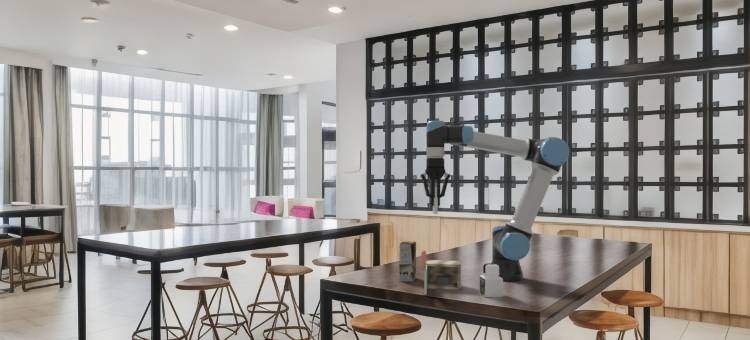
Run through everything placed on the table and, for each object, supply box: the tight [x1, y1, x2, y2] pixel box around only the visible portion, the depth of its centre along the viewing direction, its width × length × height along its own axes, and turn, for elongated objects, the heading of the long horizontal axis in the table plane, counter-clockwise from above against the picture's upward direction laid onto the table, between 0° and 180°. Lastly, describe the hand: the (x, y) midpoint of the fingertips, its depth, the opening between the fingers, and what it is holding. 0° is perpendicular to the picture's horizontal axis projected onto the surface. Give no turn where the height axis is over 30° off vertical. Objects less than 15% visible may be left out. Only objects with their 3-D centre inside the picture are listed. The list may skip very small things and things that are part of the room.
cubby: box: [426, 259, 462, 291], centre depth 231 cm, size 14×9×10 cm, turn 80°
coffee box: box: [398, 241, 417, 283], centre depth 246 cm, size 9×6×16 cm
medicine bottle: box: [479, 262, 504, 298], centre depth 216 cm, size 7×7×12 cm
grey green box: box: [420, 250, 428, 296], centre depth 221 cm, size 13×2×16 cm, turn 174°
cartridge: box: [437, 276, 449, 286], centre depth 231 cm, size 5×4×3 cm
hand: (435, 213), depth 238 cm, fingers closed
